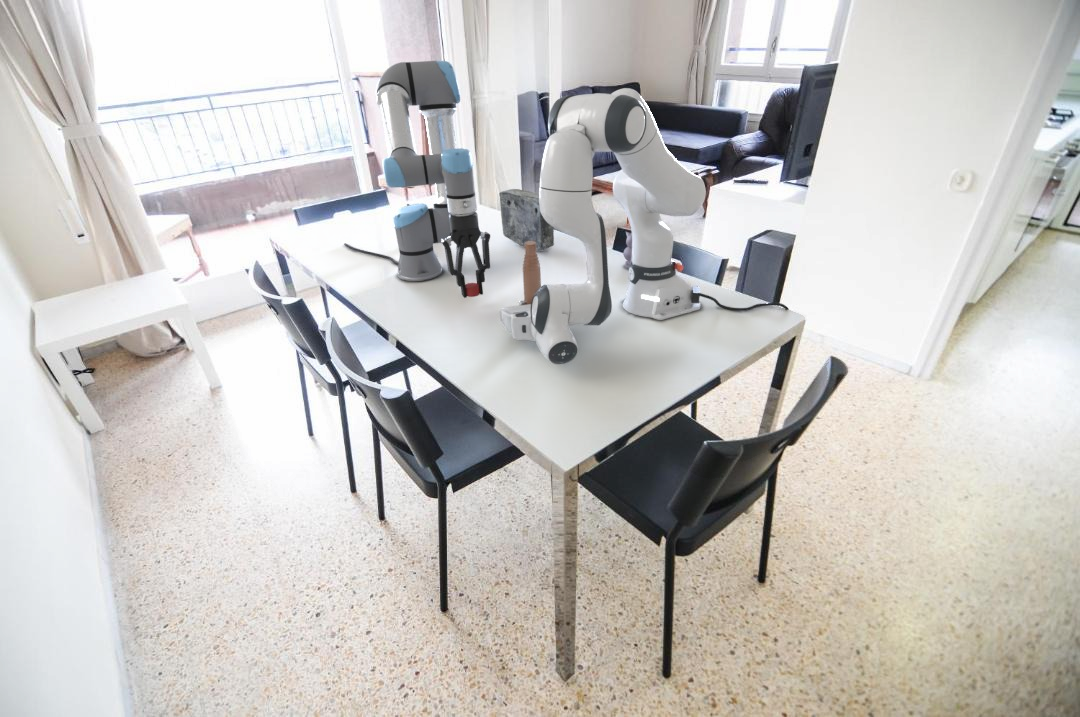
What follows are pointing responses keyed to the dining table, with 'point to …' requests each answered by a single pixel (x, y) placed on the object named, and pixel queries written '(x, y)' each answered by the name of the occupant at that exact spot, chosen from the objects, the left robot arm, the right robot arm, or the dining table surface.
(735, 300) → the dining table surface
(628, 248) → the cat figurine
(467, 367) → the dining table surface
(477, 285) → the cap
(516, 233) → the concrete block
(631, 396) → the dining table surface
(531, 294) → the bottle
